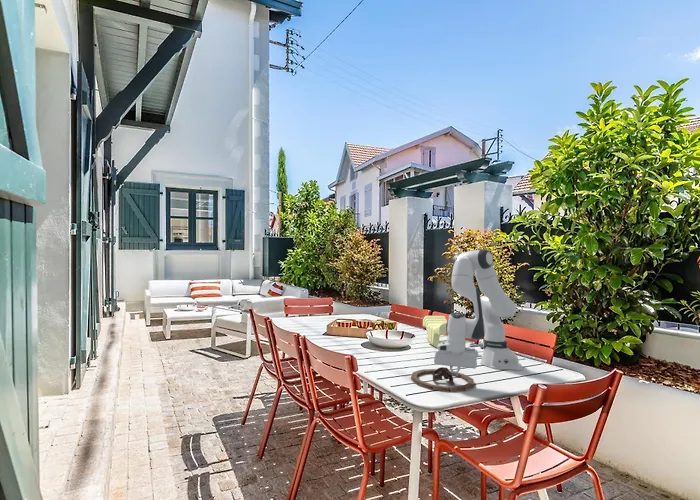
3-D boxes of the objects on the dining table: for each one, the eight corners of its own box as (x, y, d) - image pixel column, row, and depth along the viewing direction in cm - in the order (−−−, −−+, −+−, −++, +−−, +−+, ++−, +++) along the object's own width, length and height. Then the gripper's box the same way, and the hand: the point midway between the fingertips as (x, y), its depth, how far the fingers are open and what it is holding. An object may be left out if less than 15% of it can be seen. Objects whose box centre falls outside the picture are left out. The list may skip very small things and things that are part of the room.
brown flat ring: (472, 376, 214) (472, 372, 214) (474, 394, 185) (474, 391, 185) (414, 369, 221) (415, 366, 221) (408, 386, 193) (408, 383, 193)
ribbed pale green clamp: (422, 340, 294) (423, 315, 294) (443, 340, 297) (444, 315, 297) (438, 351, 264) (439, 323, 264) (461, 351, 267) (462, 323, 267)
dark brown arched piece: (454, 388, 195) (446, 373, 194) (436, 393, 199) (428, 378, 198) (457, 375, 205) (449, 360, 205) (440, 380, 210) (432, 366, 209)
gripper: (478, 347, 202) (476, 375, 202) (435, 343, 207) (433, 371, 207) (478, 350, 196) (477, 379, 196) (434, 346, 201) (433, 374, 201)
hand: (454, 375), depth 201 cm, fingers closed
